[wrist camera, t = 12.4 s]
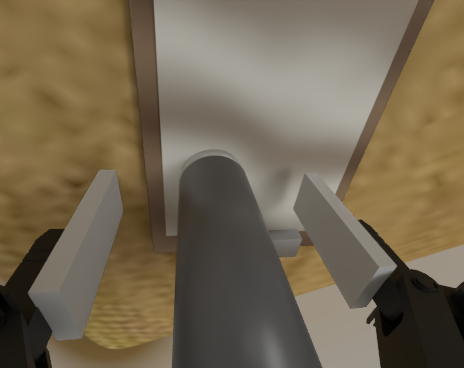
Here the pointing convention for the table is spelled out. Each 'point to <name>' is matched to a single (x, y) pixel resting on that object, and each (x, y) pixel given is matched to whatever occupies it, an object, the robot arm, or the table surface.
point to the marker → (231, 277)
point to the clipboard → (265, 94)
